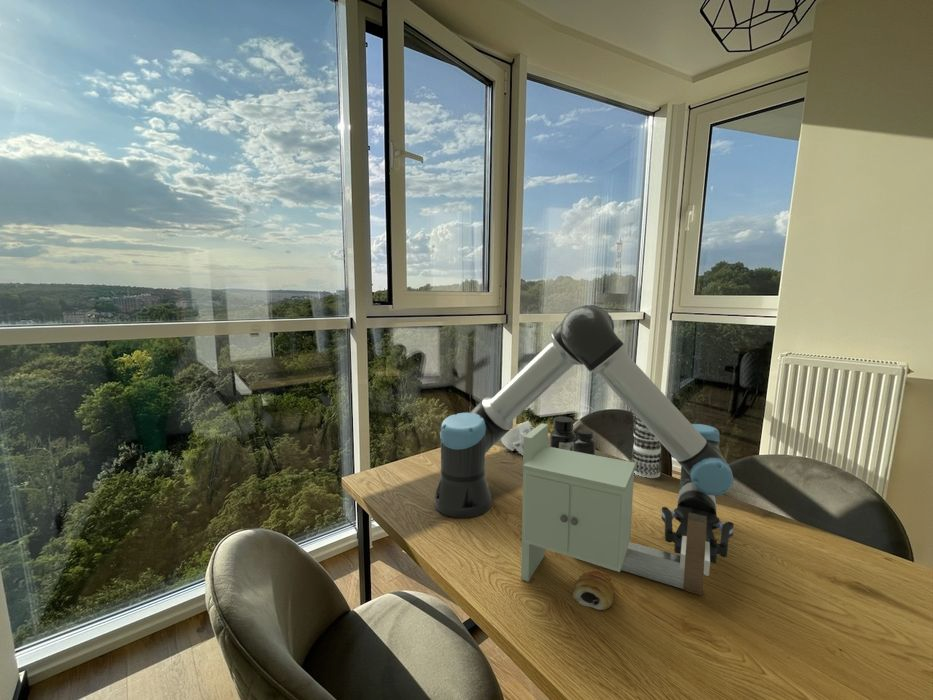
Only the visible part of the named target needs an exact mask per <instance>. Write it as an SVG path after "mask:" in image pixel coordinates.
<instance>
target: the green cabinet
mask: <svg viewBox="0 0 933 700" xmlns="http://www.w3.org/2000/svg"><path fill="white" fill-rule="evenodd" d="M533 428H534V429H533V430H532V431H530V432H529V433H528V434H526V435H525V436H524V447H522V448H523V455H522V461H523V463H522V510H521V512H522V514H521V515H522V516H521V518H522V519H521V558H520V559H521V561H520V563H521V564H520V565H521V567H520V570H521V571H520V573H521V574H520V580H522V581H525V582H527V583H528V582H529V581H530V580H531V579H532V577H533V575H534V573H535V572H536V570H537V568H538V567H539V566H540V564H541V562H542V560H544V557H545V555H546V553H545V552H546V550H548V551H552V552H555V553H556V554H557V553H558V554H561V555H565V556H567V557H569V558H570V557H571V558H573V559H577V560H581V561H583V562H586V563H589V564H593V565H595V566H599V567H601V568H606V569H608V570H611V571H615V572H618V573H620V572H621V571H622V570H621V567H622V564H623V561H624V557H625V554H626V551H627V548H628V545H629V542H631V541H630V540H631V535H632V534H631V533H632V519H633V518H632V514H633V498H634V497H633V496H634V481H635V480H634V475H635V474H634V470H635V467H636V463H634V462H632V461H629V460H628V461H627V460H622V459H616V458H610V457H606V456H601V455H596V454H595V455H591V454H586V453H580V452H575V451H569V450H564V449H559V448H553V447H550V446H549V444H548V443H549V436H548V435H549V424H548V423H541V422H540V424H538V425H537V426H535V427H533Z"/></svg>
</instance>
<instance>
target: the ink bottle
mask: <svg viewBox="0 0 933 700" xmlns="http://www.w3.org/2000/svg"><path fill="white" fill-rule="evenodd" d="M549 435H550V437H549V447H553V448H559V449H564V450H569V451H573V448H574V440H575V439H576V438H577V434H576V433H575V432H574V419H573V418H571V417H569V416H556V417H555V416H554V418H553V431H551V432H550V434H549Z"/></svg>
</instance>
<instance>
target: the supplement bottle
mask: <svg viewBox="0 0 933 700" xmlns="http://www.w3.org/2000/svg"><path fill="white" fill-rule="evenodd" d="M593 435H594V433H593V431H592V430H588V429H578V430H577V432H576V439H575V440H574V448H573V451H575V452H580V453H586V454H591V455H596V446H597V445H596V442H595V440H594V439H593V438H594V436H593Z"/></svg>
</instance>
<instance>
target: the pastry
mask: <svg viewBox="0 0 933 700" xmlns="http://www.w3.org/2000/svg"><path fill="white" fill-rule="evenodd" d="M613 585H614V584H613V582H612V578H611V576H610V574H608V573H607V572H604V571H602V570H601V569H598V568H592V569H591V570H589V569H588V570H586V572H583V573H582V574H581V575H580V576H579V578H578V579H577V581H576V582H575V584H574V590H573V592H572V597H573V599H574V600H575V602H576V603H578V604H579V605H581V606H583V607H588V608H593V609H596V610H598V611H604V610H608V609H609V608H610V607H611V606H612V604H613V603H614V594H615V591H614V586H613Z"/></svg>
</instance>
